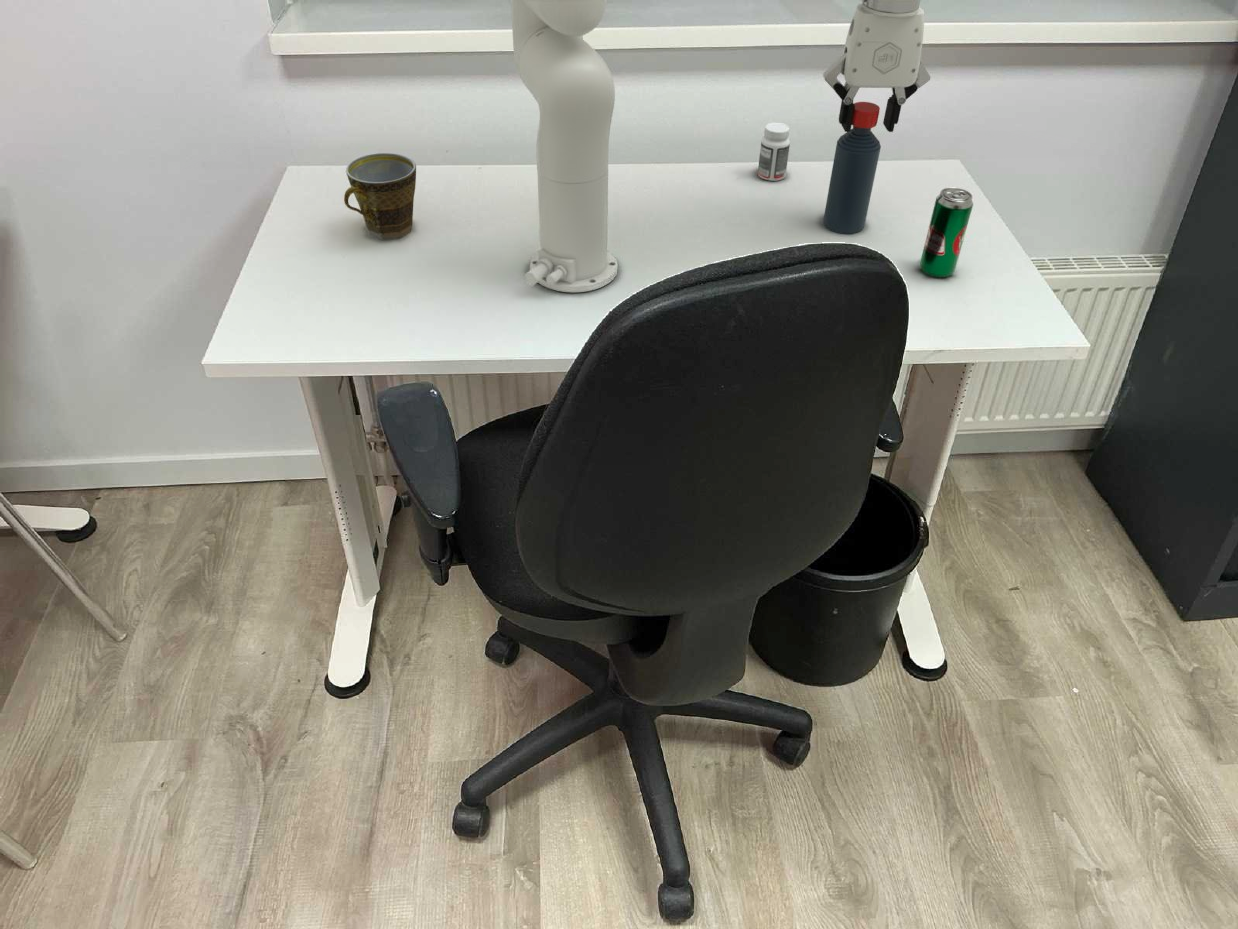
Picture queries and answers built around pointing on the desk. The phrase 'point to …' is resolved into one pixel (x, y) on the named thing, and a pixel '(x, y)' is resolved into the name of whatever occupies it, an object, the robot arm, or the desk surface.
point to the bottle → (851, 181)
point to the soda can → (946, 232)
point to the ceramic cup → (383, 193)
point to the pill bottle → (774, 152)
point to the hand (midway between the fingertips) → (866, 126)
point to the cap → (865, 115)
